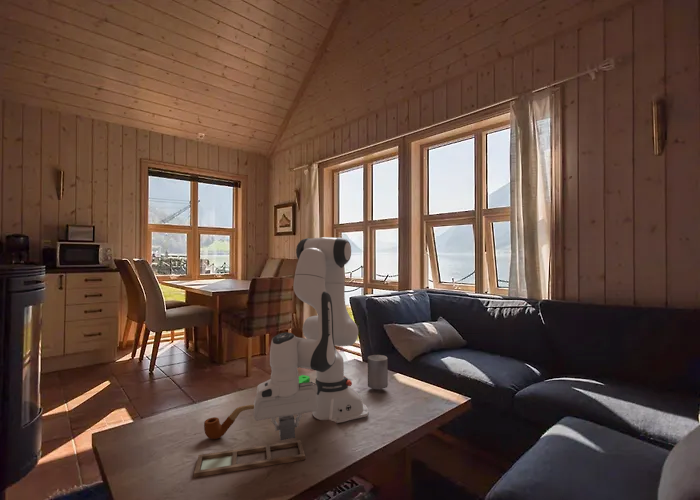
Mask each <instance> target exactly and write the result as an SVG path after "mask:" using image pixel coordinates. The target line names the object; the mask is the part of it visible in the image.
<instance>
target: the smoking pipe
mask: <svg viewBox="0 0 700 500" xmlns="http://www.w3.org/2000/svg"><path fill="white" fill-rule="evenodd" d="M247 410H248V411H249V410H254V404H247V405H242V406H239V407H237V408H235V409H234V410H233V411H232V412H231V413H230V415H228V416H227V418H226V419H225V420H224V421H223V422H222V424H221V422H220V418H219V417H210V418H207V419H206V420H205V421H204V422H203V423H204V425H203V426H204V427H203V429H204V434H205V436H206V437H207V438H209V439H210V440H218V439H220V438H222V437H223V436H224V435H225V434H226V433H227V431H228V430H230V428H231V426H232V425H233V424H234V423H235V421H236V419H237V418H238V416H239V415H240V414H241V413H243V412H244V411H247Z"/></svg>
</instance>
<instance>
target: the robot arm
mask: <svg viewBox="0 0 700 500" xmlns="http://www.w3.org/2000/svg"><path fill="white" fill-rule="evenodd" d="M295 254H296V255H295V256H296V258H297V263H296V267H295V270H294V271H295V273H294V279H293V287H292V288H293V291H294V292H293V293H294V294H295V295H296V297H297V298H298V299H299V300H300V301H302V302H303V303H305V304H306V305H309V306H310V307H312V308H313V309H314V310H315V311H316V313H317V315H312V316H308V317H307V318H306V319H305V320H304V322H303V324H302V333H303V336H304V338H303V337H298V336H296V335H295V334H294V333H292V332H282V333H278V334H276V335H275V336H273V337H272V339H271V342H270V348H269V349H270V350H269V366H270V369H271V373H270V379H268V380H266V381H263V382H261V383H258V384H257V387H256V395H255V397H254V401H253V405H254V409H253V419H254V420H255V421H263V420H269V419H270V421H271V423H272V424H273V426H274V431H275V432H277V431H279V430H280V424H279V422H277V419H276V418H279V417H282V416H289V415H293V416H295V415H296V416H297V417H296V418H295V419H294V424H295V428H299V422H300V420H301V418H302V414H308V413H312V416H313V417H314V418H315V419H317V420H320V421H327V420H329V421H332V422H335V423H336V424H338V423H344V422H347V421H352V420H356V419H360V418H364V417H368V416H369V408H368V407H367V405H366V404H364V403H363V398H362V396H361V395H360V394H359V392H358V391H356V390H355V389H354V388H352V387H351V386H352V384H353V383H352V381H351V379H348V377H346V376H345V375H344V374H345V373H344V371H345V370H344V366H345V364H344V358H343V356H342V355H341V353H340V352H338V350H337V347H351V346H353V345H354V344H355V343H356V341H357V340H358V338H359V327H358V325H357V323H355V321H354V320H353V319H352V318H351V316H350V314H349V311H348V308H347V306H346V297H345V293H346V292H345V286H346V285H345V279H346V278H345V277H346V276H345V267H344V266H345V265H347V264H348V263H349V261H350V260H351V256H352V245H351V243H350V242H349V240H348V239H347V238H344V237H340V236H339V237H331V236H322V237H313V238H309V237H308V238H304V239H303V238H302V239H301V240H300V241H299V242H298V243H297V246H296V249H295ZM298 368H300V369H307V370H312V371H316V378H315V381H314V382H313V381H310V382H308V383H299V376H300V375H299V370H298Z"/></svg>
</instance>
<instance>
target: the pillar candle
mask: <svg viewBox="0 0 700 500" xmlns="http://www.w3.org/2000/svg"><path fill="white" fill-rule="evenodd" d="M388 373H389V370H388V357H387V356H386V355H383V354H373V355H371V354H370V355H368V356H367V387H368V388H370V389H373V390H384V389H386V388H388V386H389V384H388V383H389V382H388V379H389V378H388V375H389V374H388Z"/></svg>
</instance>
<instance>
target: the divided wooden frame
mask: <svg viewBox="0 0 700 500" xmlns="http://www.w3.org/2000/svg"><path fill="white" fill-rule="evenodd" d="M302 443H303V442H302V440H301V439H299V440H294V441H293V440H292V441H286V442H279V443H271V444H265V445H258V446H257V445H256V446H251V447H245V448H237V449H231V450H224V451H218V452H212V453H211V452H210V453H205V454H199V455H198V456H197V460H196V463H195V468H194V472H193V478H200V477H206V476H212V475H219V474H220V475H221V474H225V473H231V472H232V473H233V472H238V471H243V470H248V469H256V468H262V467H269V466H274V465H281V464H285V463H286V464H287V463H293V462H299V461H304V460H306V454H305V451H304V447H303V444H302ZM295 447H297V449H298V452H299V454H295V455H289V456H283V457H282V456H281V457H277V458H276V457H275V458H272V456H271V455H272V454H271V451H273V450H280V449H287V448H295ZM261 452H265V456H266V459H263V460H257V461H250V462H243V463H237V459H238V458H237V457H238V455H239V456H240V455H246V454H253V453H261Z"/></svg>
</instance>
